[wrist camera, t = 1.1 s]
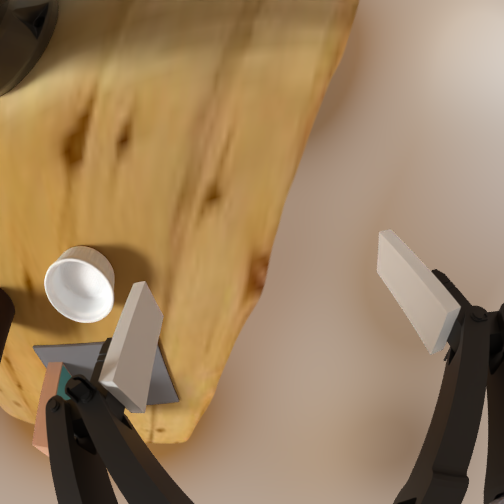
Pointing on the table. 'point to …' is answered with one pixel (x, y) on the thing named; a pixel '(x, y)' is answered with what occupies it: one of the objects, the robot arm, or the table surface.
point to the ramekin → (81, 285)
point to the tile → (51, 387)
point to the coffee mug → (5, 318)
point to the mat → (85, 358)
